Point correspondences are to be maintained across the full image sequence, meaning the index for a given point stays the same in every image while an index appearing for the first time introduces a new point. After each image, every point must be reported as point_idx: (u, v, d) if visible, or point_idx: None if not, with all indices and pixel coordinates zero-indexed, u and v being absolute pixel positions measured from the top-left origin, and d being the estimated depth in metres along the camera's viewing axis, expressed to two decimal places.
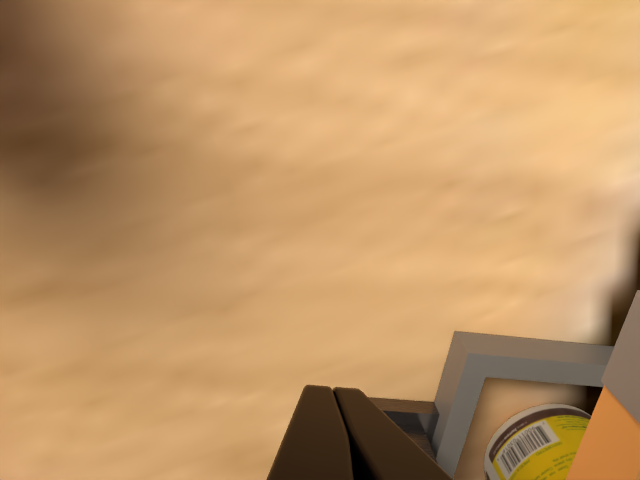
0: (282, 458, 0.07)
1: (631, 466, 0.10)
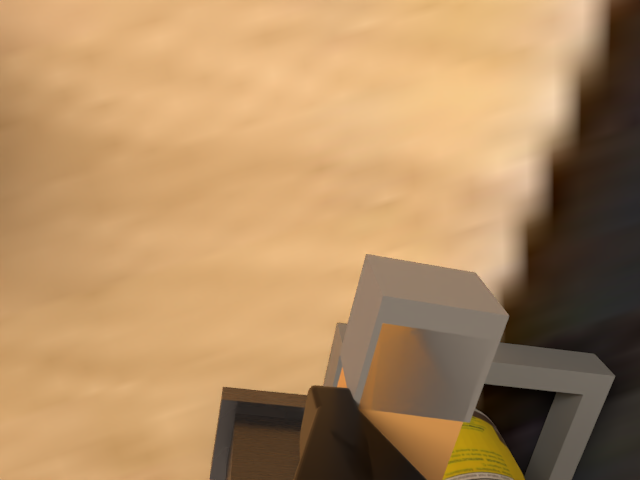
0: (307, 459, 0.07)
1: None
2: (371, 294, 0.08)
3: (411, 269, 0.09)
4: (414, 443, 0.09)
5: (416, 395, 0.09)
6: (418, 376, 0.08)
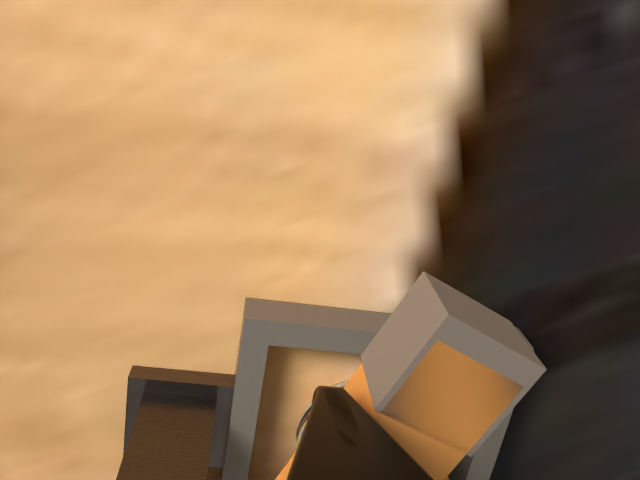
0: (301, 459, 0.07)
1: None
2: (427, 310, 0.09)
3: (462, 299, 0.09)
4: None
5: (436, 417, 0.09)
6: (446, 399, 0.09)
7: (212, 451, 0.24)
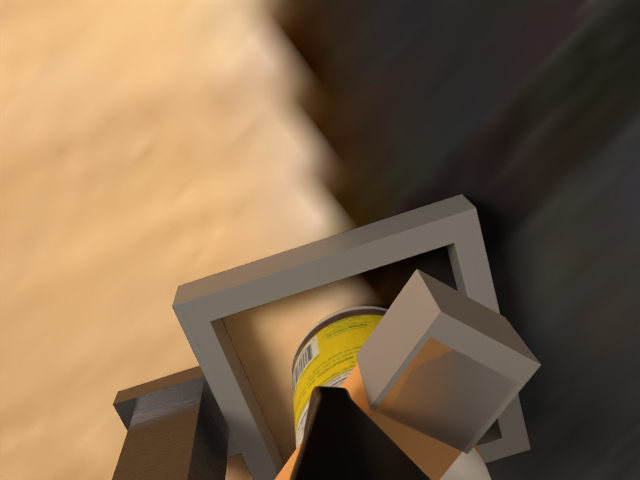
0: (303, 459, 0.07)
1: None
2: (420, 307, 0.09)
3: (456, 296, 0.09)
4: None
5: (431, 414, 0.09)
6: (440, 397, 0.09)
7: (228, 440, 0.24)
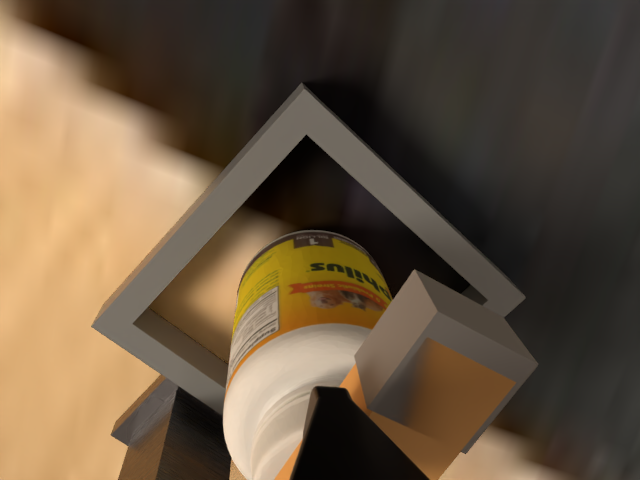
0: (303, 459, 0.07)
1: None
2: (418, 307, 0.09)
3: (453, 296, 0.09)
4: None
5: (428, 414, 0.09)
6: (438, 397, 0.09)
7: None
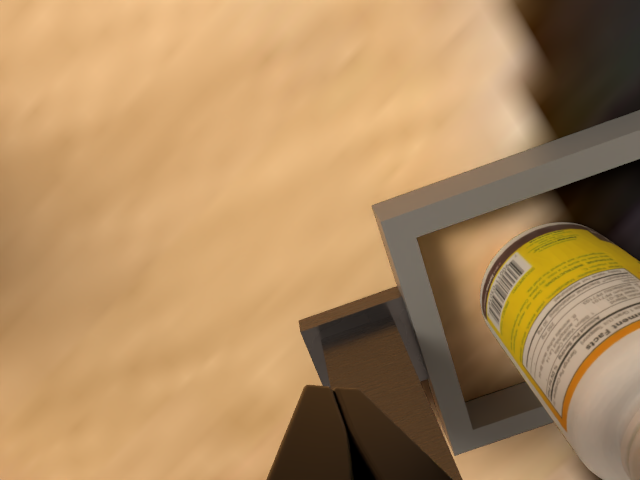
0: (282, 458, 0.07)
1: None
2: None
3: None
4: None
5: None
6: None
7: None
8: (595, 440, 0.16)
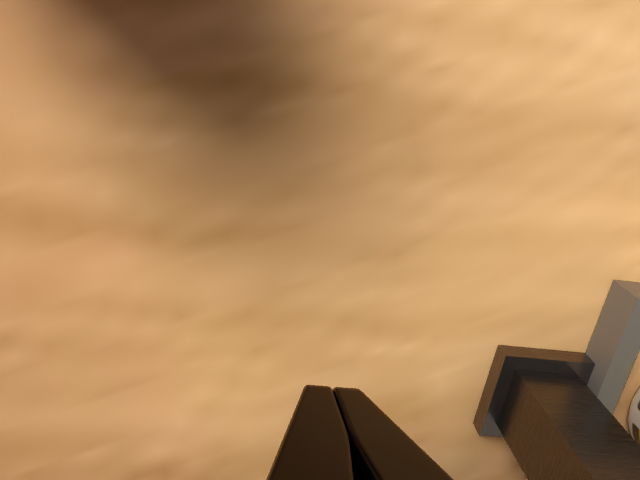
0: (282, 458, 0.07)
1: None
2: None
3: None
4: None
5: None
6: None
7: None
8: None
